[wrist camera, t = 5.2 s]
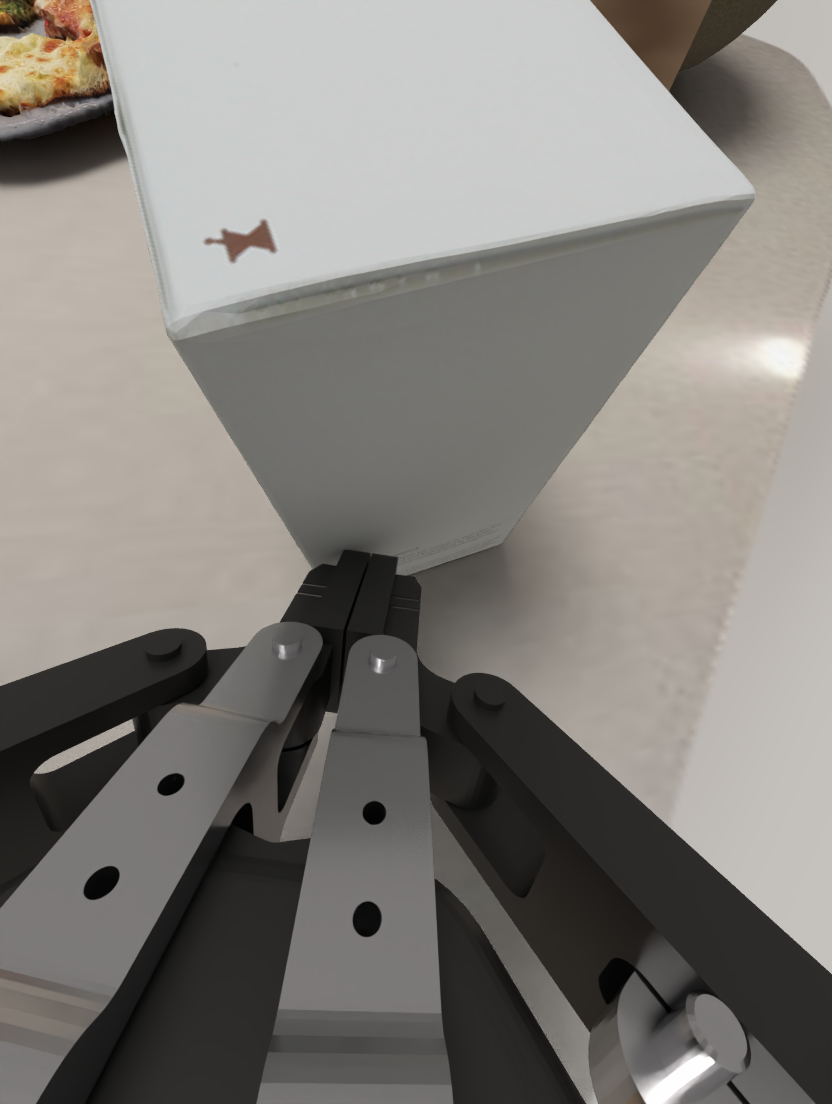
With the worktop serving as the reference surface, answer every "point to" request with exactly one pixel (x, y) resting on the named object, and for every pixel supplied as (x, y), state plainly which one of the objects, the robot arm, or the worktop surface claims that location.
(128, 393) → the worktop surface
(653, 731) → the worktop surface
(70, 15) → the food plate
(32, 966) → the robot arm
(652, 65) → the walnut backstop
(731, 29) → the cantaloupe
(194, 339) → the supplement box
